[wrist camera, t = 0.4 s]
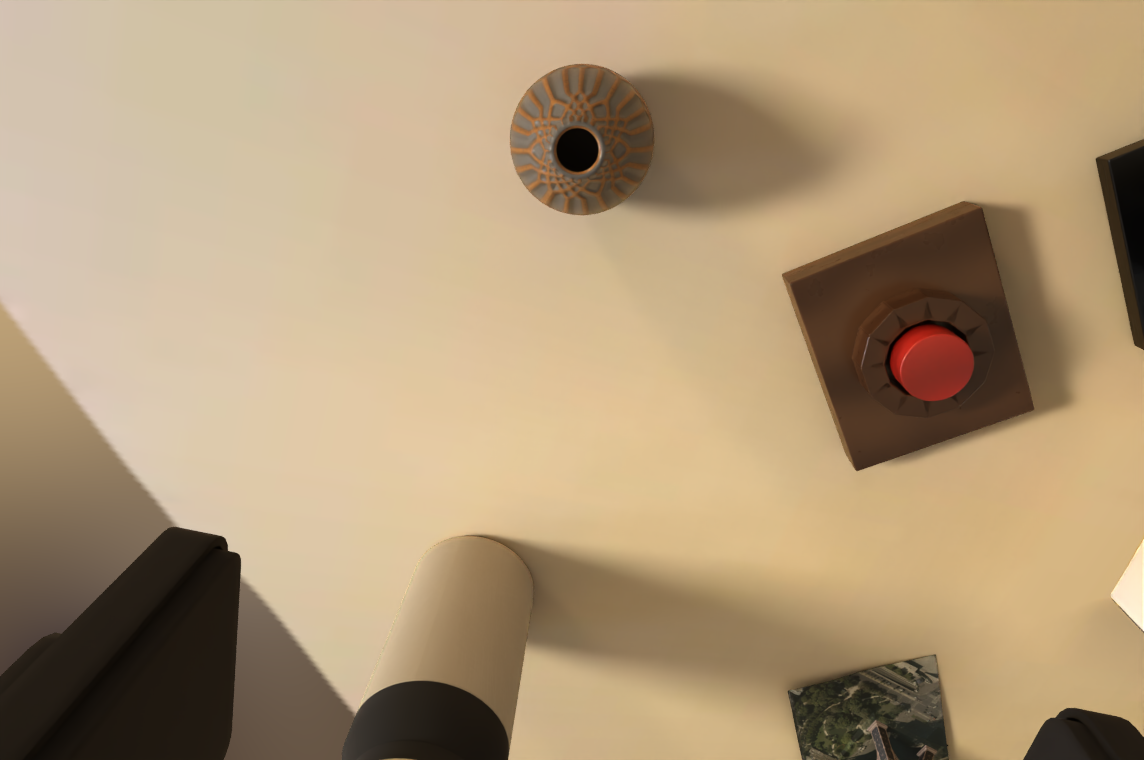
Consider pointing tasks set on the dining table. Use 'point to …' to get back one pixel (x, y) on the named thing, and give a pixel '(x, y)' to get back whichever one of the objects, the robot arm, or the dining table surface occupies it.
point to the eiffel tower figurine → (873, 715)
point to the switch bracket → (1127, 224)
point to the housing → (894, 306)
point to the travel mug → (449, 659)
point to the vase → (582, 139)
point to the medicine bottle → (1132, 589)
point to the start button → (931, 362)
